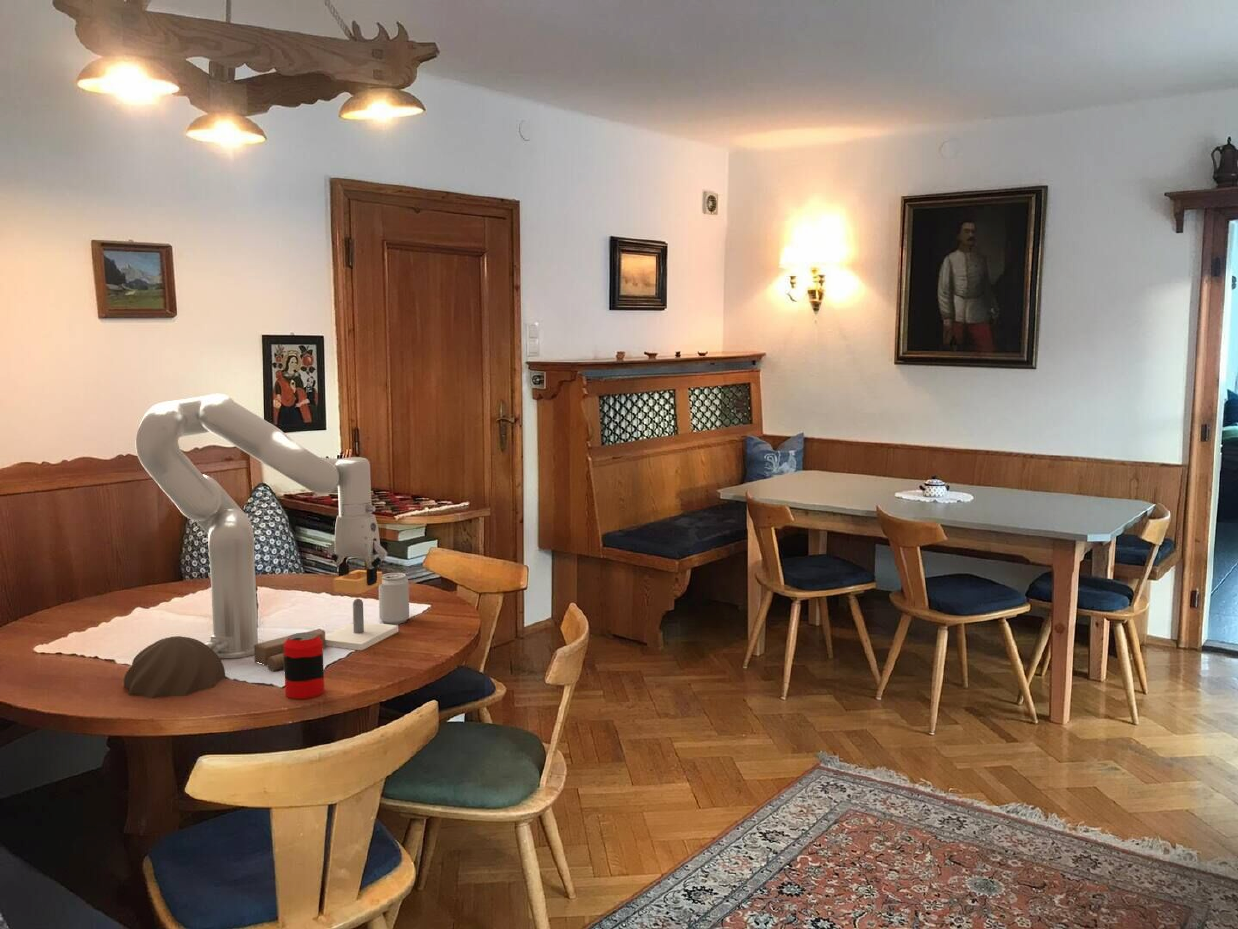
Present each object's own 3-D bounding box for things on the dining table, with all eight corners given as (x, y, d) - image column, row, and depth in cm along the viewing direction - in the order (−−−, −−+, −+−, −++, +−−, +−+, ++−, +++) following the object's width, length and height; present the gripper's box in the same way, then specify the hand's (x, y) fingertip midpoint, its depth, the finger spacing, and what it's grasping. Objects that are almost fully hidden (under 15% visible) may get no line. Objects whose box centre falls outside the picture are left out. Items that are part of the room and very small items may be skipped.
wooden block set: (249, 640, 227) (319, 623, 241) (250, 665, 228) (319, 646, 242) (293, 655, 216) (363, 636, 230) (294, 681, 217) (364, 660, 231)
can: (376, 618, 263) (375, 573, 261) (405, 615, 266) (404, 570, 265) (383, 626, 256) (381, 579, 255) (412, 622, 259) (411, 576, 258)
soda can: (278, 698, 206) (275, 640, 205) (298, 685, 214) (296, 629, 212) (312, 701, 204) (309, 643, 203) (331, 688, 212) (329, 632, 210)
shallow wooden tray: (359, 594, 239) (358, 581, 239) (333, 591, 241) (333, 579, 241) (382, 583, 248) (382, 571, 248) (357, 581, 251) (357, 569, 250)
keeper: (361, 650, 237) (360, 609, 236) (317, 645, 241) (316, 605, 239) (398, 631, 252) (397, 593, 251) (356, 626, 256) (355, 588, 254)
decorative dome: (242, 681, 217) (240, 635, 215) (148, 706, 202) (145, 657, 201) (199, 661, 229) (197, 618, 228) (107, 684, 215) (104, 637, 213)
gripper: (395, 509, 243) (398, 582, 245) (333, 505, 249) (336, 576, 251) (378, 514, 236) (380, 589, 238) (314, 510, 242) (317, 583, 244)
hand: (358, 582), depth 245 cm, fingers closed on shallow wooden tray, 7 cm apart
